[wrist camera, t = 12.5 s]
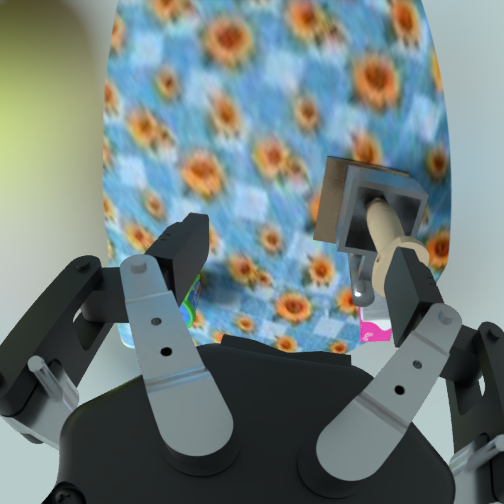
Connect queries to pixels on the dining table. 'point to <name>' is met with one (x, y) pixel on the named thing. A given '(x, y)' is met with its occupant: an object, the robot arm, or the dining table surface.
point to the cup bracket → (364, 214)
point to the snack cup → (191, 303)
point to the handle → (388, 239)
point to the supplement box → (375, 321)
